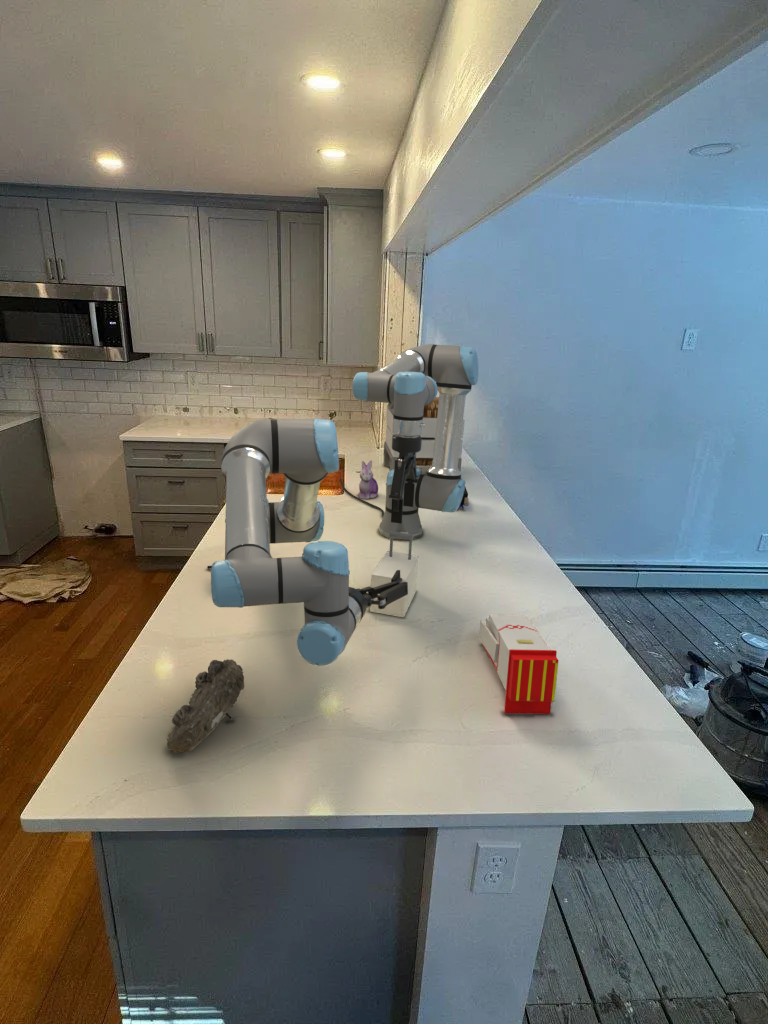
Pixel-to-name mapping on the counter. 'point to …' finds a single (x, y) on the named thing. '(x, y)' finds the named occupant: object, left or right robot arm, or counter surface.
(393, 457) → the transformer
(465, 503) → the figurine character
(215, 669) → the fossil
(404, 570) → the lid
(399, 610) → the chest
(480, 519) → the counter surface
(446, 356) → the right robot arm
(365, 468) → the figurine
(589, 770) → the counter surface
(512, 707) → the toy
